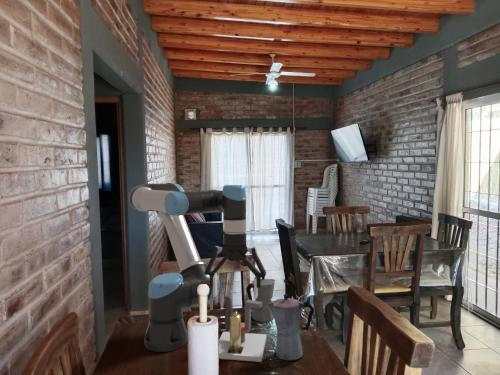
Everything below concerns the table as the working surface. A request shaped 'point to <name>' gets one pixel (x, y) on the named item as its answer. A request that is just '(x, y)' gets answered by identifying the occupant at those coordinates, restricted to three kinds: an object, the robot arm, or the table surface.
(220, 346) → the base
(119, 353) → the table surface
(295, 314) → the moka pot
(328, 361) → the table surface
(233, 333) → the hook peg
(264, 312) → the coffeepot
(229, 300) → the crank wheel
